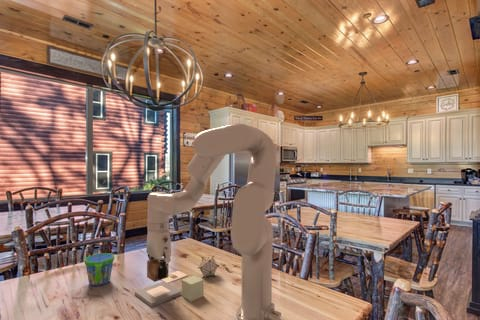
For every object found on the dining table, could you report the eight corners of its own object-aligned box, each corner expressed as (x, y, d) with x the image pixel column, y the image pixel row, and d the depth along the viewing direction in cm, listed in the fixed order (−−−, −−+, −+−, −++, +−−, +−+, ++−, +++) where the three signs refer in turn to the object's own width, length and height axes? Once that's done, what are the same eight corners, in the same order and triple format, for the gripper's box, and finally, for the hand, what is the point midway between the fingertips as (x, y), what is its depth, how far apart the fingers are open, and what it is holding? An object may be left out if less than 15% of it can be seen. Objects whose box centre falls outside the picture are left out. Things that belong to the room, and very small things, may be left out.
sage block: (203, 296, 99) (203, 279, 99) (191, 301, 95) (191, 284, 95) (194, 291, 103) (194, 275, 103) (181, 296, 99) (181, 279, 99)
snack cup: (111, 289, 104) (111, 262, 104) (79, 293, 101) (79, 266, 101) (116, 273, 119) (116, 249, 119) (89, 276, 115) (89, 252, 115)
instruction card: (187, 275, 116) (187, 274, 116) (166, 283, 109) (166, 282, 109) (178, 271, 121) (178, 270, 121) (157, 278, 113) (157, 277, 113)
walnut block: (168, 277, 100) (168, 260, 100) (154, 281, 96) (154, 264, 96) (160, 272, 104) (160, 256, 104) (146, 277, 100) (147, 260, 100)
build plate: (181, 294, 100) (181, 290, 100) (151, 307, 91) (151, 303, 91) (164, 284, 108) (164, 280, 108) (134, 294, 100) (134, 291, 100)
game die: (211, 286, 114) (214, 273, 109) (193, 277, 116) (195, 263, 110) (220, 269, 122) (223, 255, 116) (203, 260, 123) (205, 247, 117)
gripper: (180, 228, 97) (179, 279, 97) (155, 220, 108) (155, 266, 108) (161, 232, 91) (160, 286, 91) (137, 223, 103) (136, 271, 103)
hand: (157, 274), depth 100 cm, fingers closed on walnut block, 5 cm apart
